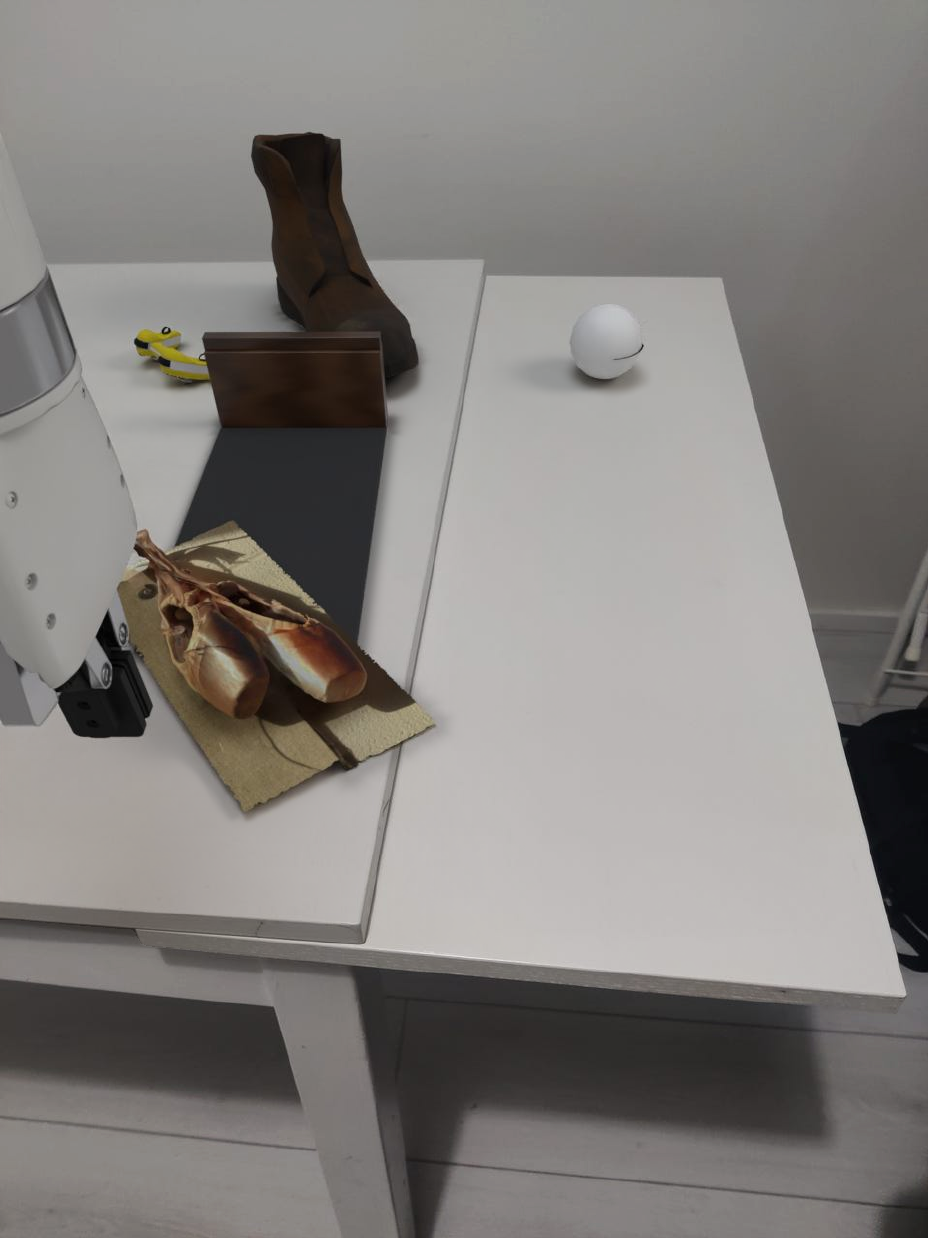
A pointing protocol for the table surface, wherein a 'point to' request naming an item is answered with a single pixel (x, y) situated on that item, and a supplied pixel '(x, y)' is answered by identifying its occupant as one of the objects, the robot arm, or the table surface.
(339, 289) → the boot
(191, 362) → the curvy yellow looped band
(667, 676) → the table surface
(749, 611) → the table surface
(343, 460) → the black display mat
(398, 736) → the ballet pointe shoes
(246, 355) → the brown wooden panel
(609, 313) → the white ovoid
